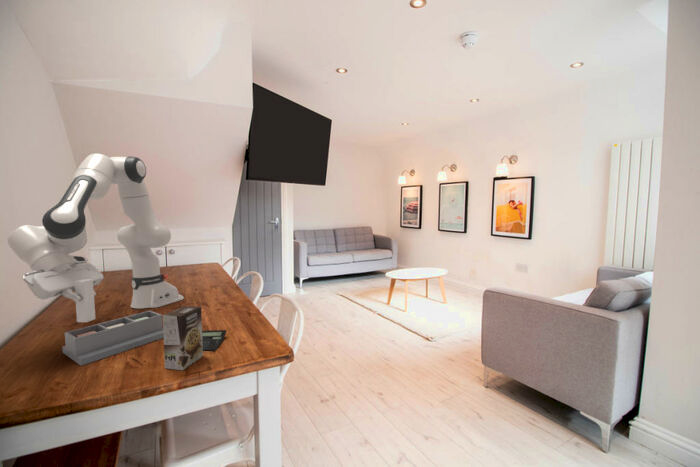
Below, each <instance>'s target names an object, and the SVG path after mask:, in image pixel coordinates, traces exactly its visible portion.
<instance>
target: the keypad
mask: <svg viewBox="0 0 700 467" xmlns="http://www.w3.org/2000/svg"><path fill="white" fill-rule="evenodd" d="M143 317H149V318H146V319H143V320H139V321H134V320H136V319H140V318H143ZM121 323H122V324H125V325H121V326H117V327H114V328H110V329H108V328H106V327H110V326H114V325H117V324H121ZM91 331H95V333H92V334H88V335H85V336H81V337H77V338H76V335H80V334H84V333H88V332H91ZM162 339H164V335H163V314H161V313H159V312H158V313H157V312H155V311H152V310H146V311H143V312H139V313H134V314H131V315H127V316H123V317H119V318H116V319H112V320H108V321H104V322H100V323H96V324H93V325H89V326H84V327H80V328H78V329H73V330H69V331H65V332H64V341H65V342H64V343H65V345H63V346H61V348H62V354H64V355H65V356H67V357H68V358H69V359H71V360H72V361H74V362H75V363H77V365H79V366H80V367H82V366H84V365H85V366H86V365H88V364H90V363H94V362H96V361H100V360H103V359H105V358H109V357H111V356H114V355H116V354H117V355H118V354H120V353H123V352H126V351H130V350H133V349H135V347H136V348H138V346H139V347H142V346H144V345H147V344H150V343H153V342H156V341H158V340H159V341H160V340H162ZM155 340H156V341H155ZM152 341H153V342H152ZM149 342H150V343H149ZM132 348H133V349H132ZM129 349H130V350H129Z"/></svg>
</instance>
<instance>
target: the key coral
mask: <svg viewBox="0 0 700 467" xmlns="http://www.w3.org/2000/svg"><path fill="white" fill-rule="evenodd" d="M92 333H95V331H91V332H88V333H84V334H80V335H76V338H77V337H81V336H85V335H88V334H92Z"/></svg>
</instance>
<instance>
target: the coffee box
mask: <svg viewBox="0 0 700 467" xmlns="http://www.w3.org/2000/svg"><path fill="white" fill-rule="evenodd" d="M162 328H163V335H164V338H163V350H164V351H163V354H164V355H163V357H164V369H171V370H176V371H184V370H185V369H187V368H188V367H190V366H191V365H193V364H194V363H196V362H197V361H198V360H200V359H201V358H203V357H204V352H203V342H202V331H203V324H202V307H201V306H196V305H195V306H193V305H191V306H189V305H187V306H185V305H183V306H181V307H178V308H176V309H174V310H172V311H169V312H166V313H164V314H162ZM202 356H203V357H202ZM192 363H193V364H192Z"/></svg>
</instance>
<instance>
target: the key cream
mask: <svg viewBox="0 0 700 467" xmlns="http://www.w3.org/2000/svg"><path fill="white" fill-rule="evenodd" d="M121 325H125V324H122V323H121V324H117V325H114V326H110V327H106V328H108V329H110V328H114V327H117V326H121Z"/></svg>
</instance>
